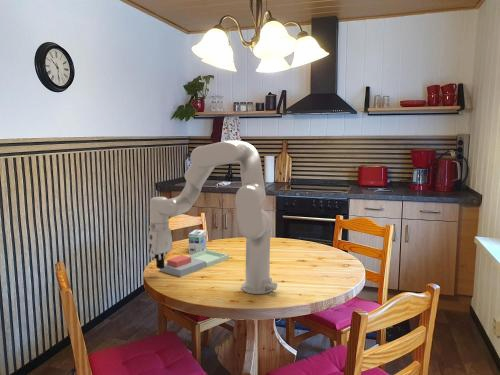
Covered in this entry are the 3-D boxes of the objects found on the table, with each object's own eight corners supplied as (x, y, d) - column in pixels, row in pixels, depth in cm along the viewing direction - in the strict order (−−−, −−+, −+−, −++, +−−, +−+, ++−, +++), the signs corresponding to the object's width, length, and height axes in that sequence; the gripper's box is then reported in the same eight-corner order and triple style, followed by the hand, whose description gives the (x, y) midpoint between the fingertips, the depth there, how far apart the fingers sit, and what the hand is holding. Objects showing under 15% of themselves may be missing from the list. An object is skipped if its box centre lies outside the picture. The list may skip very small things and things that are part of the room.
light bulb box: (200, 254, 200) (200, 234, 199) (188, 254, 201) (188, 233, 200) (207, 249, 210) (207, 229, 209) (195, 248, 212) (195, 229, 211)
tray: (228, 258, 193) (228, 254, 193) (206, 267, 180) (206, 262, 180) (206, 253, 202) (206, 249, 201) (184, 261, 189) (184, 257, 188)
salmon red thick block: (191, 262, 178) (191, 257, 177) (176, 267, 170) (176, 262, 170) (181, 260, 181) (181, 255, 181) (167, 265, 174) (167, 259, 174)
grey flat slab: (205, 267, 180) (205, 261, 180) (180, 277, 167) (180, 270, 167) (185, 262, 188) (185, 256, 187) (160, 271, 175) (160, 264, 174)
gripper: (151, 230, 156) (152, 274, 159) (178, 224, 168) (179, 265, 171) (139, 227, 161) (140, 270, 163) (166, 222, 173) (167, 261, 175)
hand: (160, 267), depth 167 cm, fingers closed
